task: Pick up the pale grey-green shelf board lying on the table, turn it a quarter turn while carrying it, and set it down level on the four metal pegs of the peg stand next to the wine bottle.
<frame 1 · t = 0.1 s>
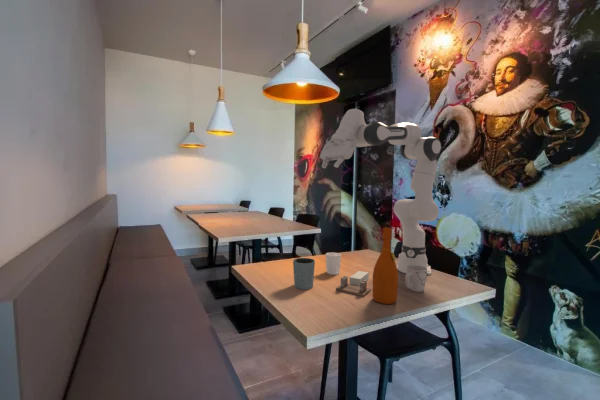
hand: (329, 167, 134), 54 cm above the table, tool tilted 30°, fingers open, 8 cm apart
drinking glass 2: (303, 286, 138), on the table
mug: (413, 290, 136), on the table
peg stand: (353, 290, 134), on the table
white cup: (332, 273, 159), on the table
shelf board: (359, 283, 145), on the table
wine bottle: (384, 300, 123), on the table
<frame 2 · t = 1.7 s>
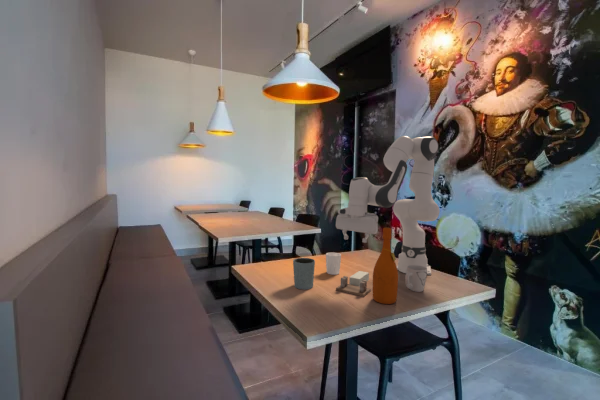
hand: (355, 240, 142), 20 cm above the table, tool pointing down, fingers open, 8 cm apart
nothing on the table moved.
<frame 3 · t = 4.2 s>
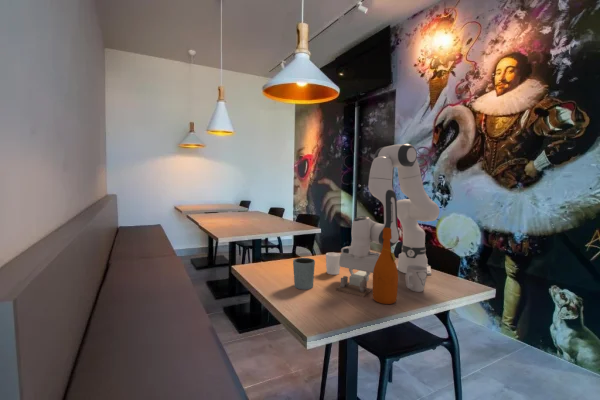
hand: (359, 279, 145), 2 cm above the table, tool pointing down, fingers closed on shelf board, 5 cm apart
shelf board: (359, 282, 145), on the table, touching gripper
everything else where it was.
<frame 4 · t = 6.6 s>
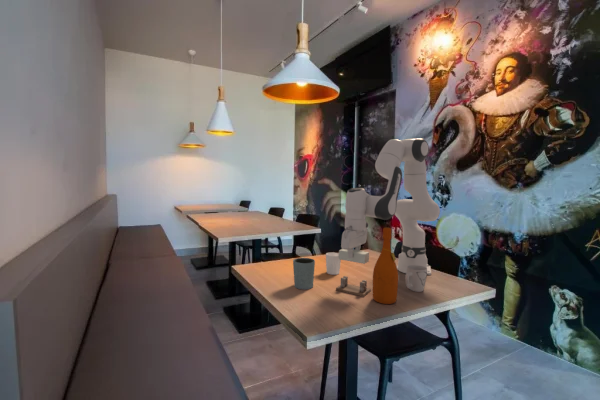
hand: (353, 256, 133), 15 cm above the table, tool pointing down, fingers closed on shelf board, 5 cm apart
shelf board: (353, 260, 133), point 14 cm above the table, touching gripper
everything else where it was.
when the fingers open (7 cm above the table, at t = 8.5 s): shelf board stays where it is, resting on peg stand.
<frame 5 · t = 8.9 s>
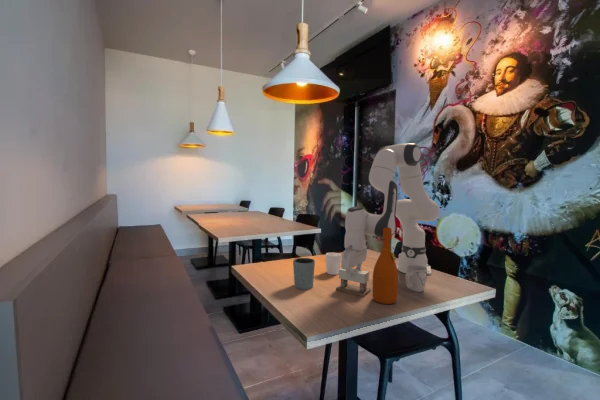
hand: (353, 274, 133), 7 cm above the table, tool pointing down, fingers open, 8 cm apart
shelf board: (353, 279, 133), point 5 cm above the table, touching peg stand
everything else where it was.
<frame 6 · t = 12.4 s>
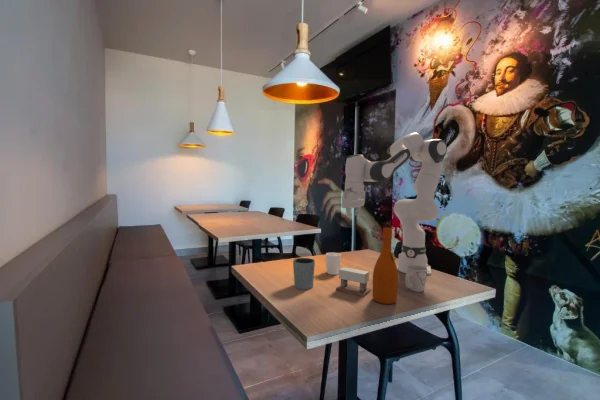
hand: (353, 216, 147), 31 cm above the table, tool pointing down, fingers open, 8 cm apart
nothing on the table moved.
at the end: shelf board 0.1 cm off-centre on the peg stand, point 5.0 cm above the peg stand's base; shelf board tilted 0°; the gripper is holding nothing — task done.
